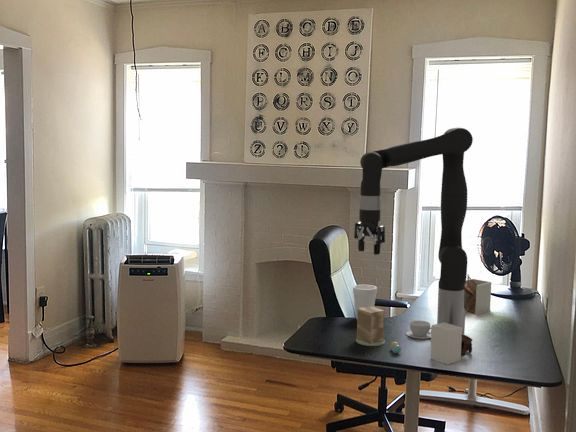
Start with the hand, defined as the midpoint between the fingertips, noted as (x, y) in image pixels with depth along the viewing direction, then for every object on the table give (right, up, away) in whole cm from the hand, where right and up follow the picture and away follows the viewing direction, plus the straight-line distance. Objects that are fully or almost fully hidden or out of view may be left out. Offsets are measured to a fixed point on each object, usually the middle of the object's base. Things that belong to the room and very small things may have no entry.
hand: (368, 252), depth 226 cm
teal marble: (+7, -32, -19) cm, 38 cm away
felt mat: (0, -31, -6) cm, 32 cm away
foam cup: (+1, -28, +23) cm, 36 cm away
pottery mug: (+27, -33, -19) cm, 47 cm away
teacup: (+19, -31, +2) cm, 36 cm away
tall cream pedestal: (+22, -33, -24) cm, 46 cm away
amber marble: (+7, -32, -15) cm, 36 cm away
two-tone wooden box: (+50, -27, +39) cm, 69 cm away
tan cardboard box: (0, -30, -6) cm, 31 cm away
